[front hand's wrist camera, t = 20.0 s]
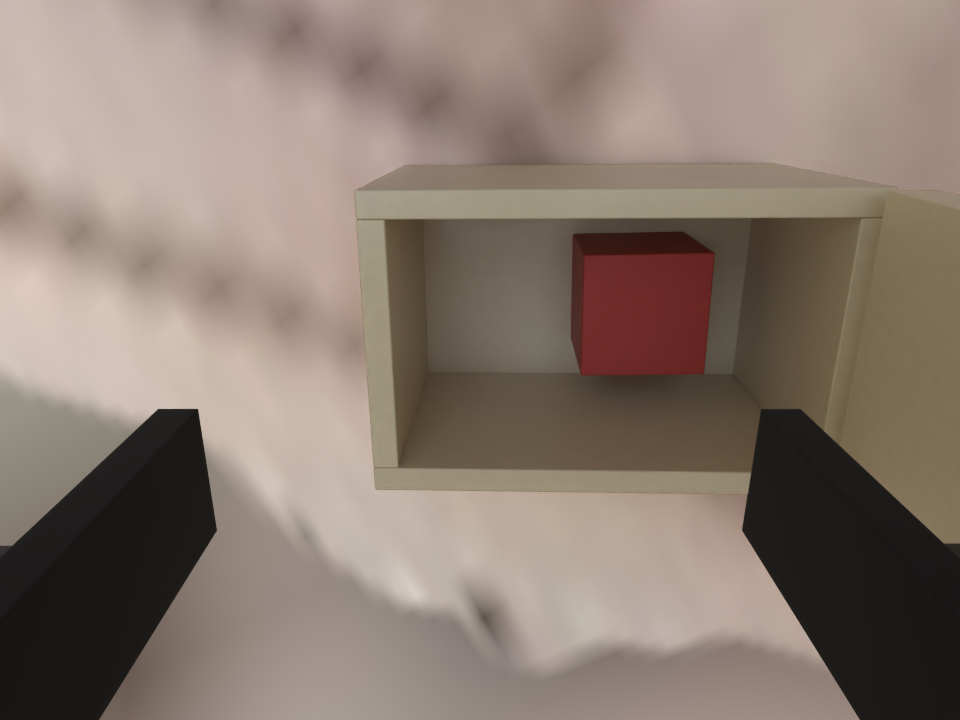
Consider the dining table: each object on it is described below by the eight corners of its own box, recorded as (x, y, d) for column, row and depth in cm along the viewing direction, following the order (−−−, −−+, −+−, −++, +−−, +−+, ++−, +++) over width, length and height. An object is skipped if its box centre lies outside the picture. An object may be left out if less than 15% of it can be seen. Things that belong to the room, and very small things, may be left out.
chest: (413, 382, 32) (374, 490, 23) (403, 165, 29) (353, 190, 20) (742, 384, 31) (838, 496, 22) (771, 162, 28) (898, 187, 19)
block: (580, 376, 26) (704, 375, 26) (583, 255, 24) (715, 252, 24) (570, 338, 30) (676, 337, 30) (572, 233, 29) (684, 231, 28)
